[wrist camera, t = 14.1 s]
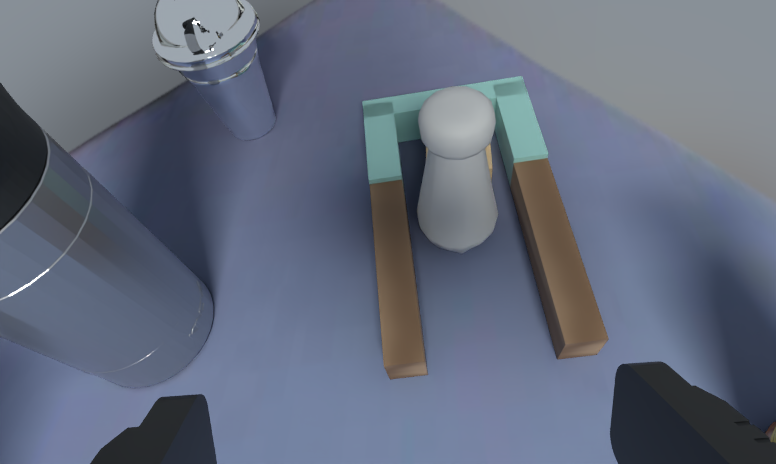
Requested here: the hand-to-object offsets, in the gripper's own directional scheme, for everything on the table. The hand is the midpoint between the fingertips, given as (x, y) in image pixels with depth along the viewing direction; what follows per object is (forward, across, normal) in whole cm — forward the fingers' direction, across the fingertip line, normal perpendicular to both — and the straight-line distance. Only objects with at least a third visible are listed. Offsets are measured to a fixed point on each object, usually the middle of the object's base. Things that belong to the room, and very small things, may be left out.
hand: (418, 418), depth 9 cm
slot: (+25, +7, -6) cm, 26 cm away
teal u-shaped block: (+33, +7, +1) cm, 33 cm away
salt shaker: (+28, +6, -4) cm, 29 cm away
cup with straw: (+40, -11, +4) cm, 42 cm away
